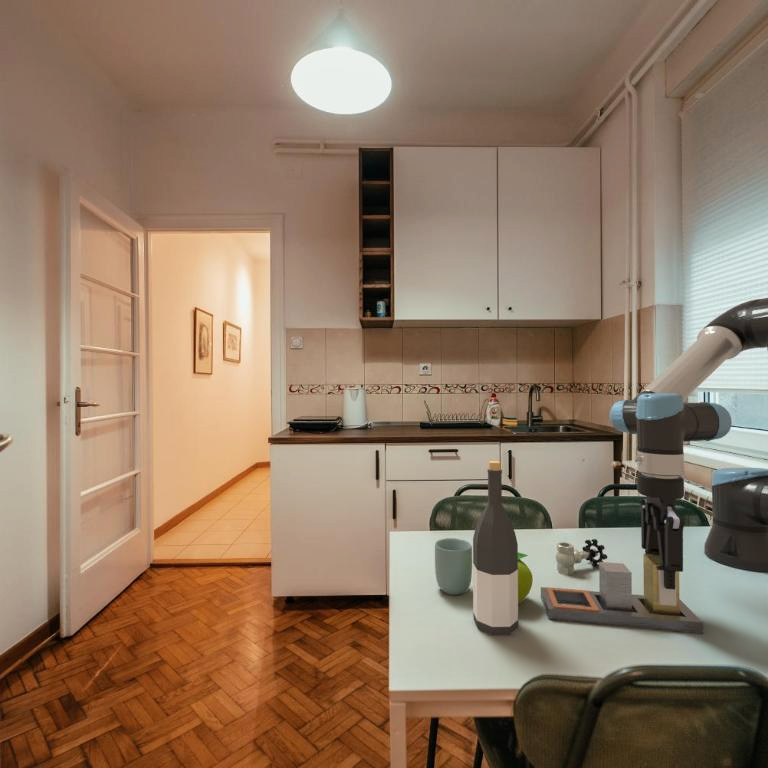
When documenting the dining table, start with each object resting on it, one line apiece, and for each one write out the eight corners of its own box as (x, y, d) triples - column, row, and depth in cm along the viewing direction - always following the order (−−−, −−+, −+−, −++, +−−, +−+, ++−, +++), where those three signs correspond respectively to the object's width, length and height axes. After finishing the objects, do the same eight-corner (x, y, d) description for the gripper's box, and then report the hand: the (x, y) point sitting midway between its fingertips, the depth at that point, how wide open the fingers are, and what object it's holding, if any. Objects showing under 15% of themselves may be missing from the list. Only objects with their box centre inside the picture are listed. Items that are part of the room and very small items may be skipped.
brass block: (668, 612, 84) (668, 555, 84) (679, 624, 80) (679, 564, 80) (644, 610, 85) (643, 553, 85) (653, 622, 81) (652, 562, 81)
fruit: (480, 591, 93) (480, 544, 93) (524, 591, 93) (523, 544, 93) (489, 613, 84) (489, 561, 84) (537, 614, 84) (537, 562, 84)
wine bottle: (491, 640, 75) (490, 467, 75) (464, 618, 82) (463, 459, 83) (527, 630, 78) (527, 463, 78) (498, 609, 86) (498, 457, 86)
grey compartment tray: (678, 608, 86) (678, 596, 86) (703, 633, 77) (703, 620, 77) (540, 596, 91) (540, 585, 91) (548, 619, 82) (548, 607, 82)
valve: (569, 579, 99) (607, 571, 104) (569, 550, 99) (607, 543, 104) (548, 568, 105) (585, 561, 110) (548, 541, 105) (585, 534, 110)
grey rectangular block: (623, 609, 86) (623, 563, 86) (631, 621, 81) (631, 572, 81) (599, 607, 86) (599, 561, 87) (606, 618, 82) (606, 571, 82)
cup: (449, 602, 88) (449, 553, 88) (428, 587, 95) (428, 541, 95) (479, 594, 92) (479, 546, 92) (457, 579, 99) (456, 535, 99)
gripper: (622, 465, 92) (623, 576, 92) (658, 483, 75) (659, 620, 75) (661, 466, 90) (662, 579, 90) (706, 485, 73) (708, 624, 73)
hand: (661, 597), depth 82 cm, fingers closed on brass block, 4 cm apart
